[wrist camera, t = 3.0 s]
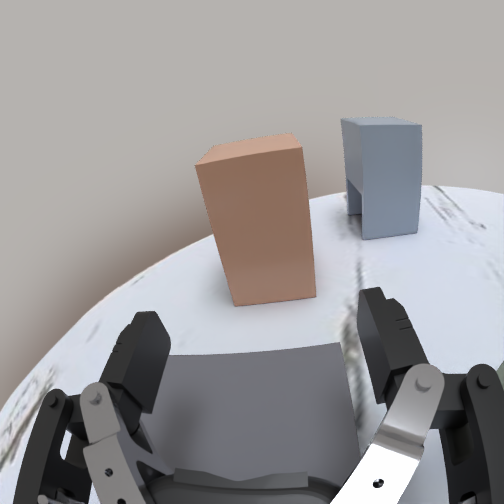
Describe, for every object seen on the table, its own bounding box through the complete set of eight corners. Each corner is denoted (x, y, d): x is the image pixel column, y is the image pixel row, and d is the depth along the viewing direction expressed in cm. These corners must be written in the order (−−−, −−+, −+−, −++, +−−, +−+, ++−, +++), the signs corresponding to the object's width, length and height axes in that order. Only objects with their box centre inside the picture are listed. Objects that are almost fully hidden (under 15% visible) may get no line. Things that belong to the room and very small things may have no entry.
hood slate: (394, 207, 30) (393, 116, 24) (417, 232, 24) (421, 124, 19) (347, 213, 31) (340, 118, 25) (363, 240, 25) (359, 125, 20)
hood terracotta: (306, 252, 25) (291, 132, 20) (315, 296, 20) (302, 147, 14) (240, 260, 26) (213, 145, 20) (234, 306, 21) (195, 165, 15)
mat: (339, 345, 16) (339, 342, 16) (365, 534, 6) (367, 535, 6) (161, 358, 17) (158, 354, 17) (120, 517, 7) (116, 516, 7)
